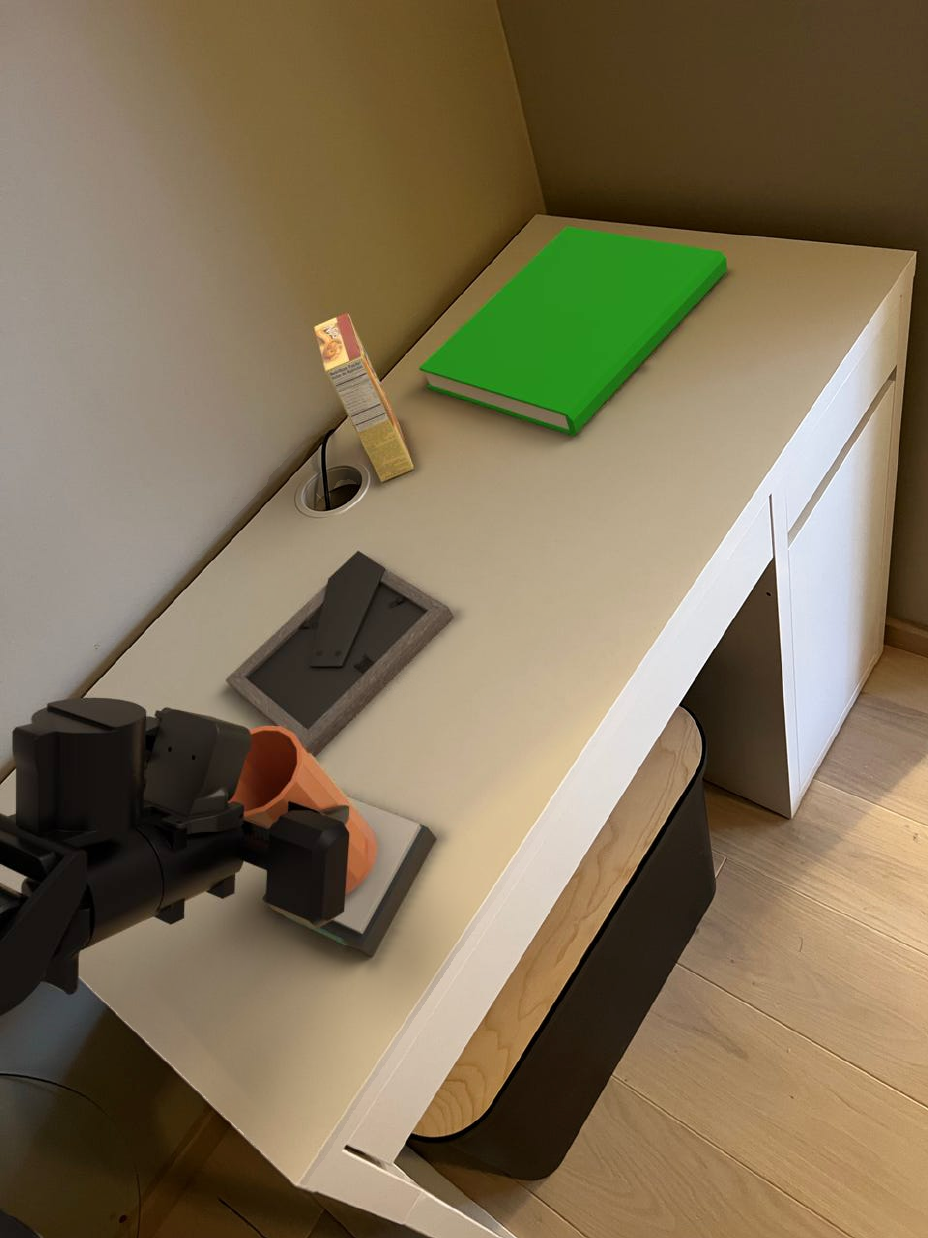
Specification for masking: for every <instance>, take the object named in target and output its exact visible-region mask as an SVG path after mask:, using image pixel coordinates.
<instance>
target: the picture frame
mask: <svg viewBox="0 0 928 1238" xmlns="http://www.w3.org/2000/svg"><path fill="white" fill-rule="evenodd" d="M453 618H454V616H453V614H452V612H451V610H450V607H449V606H447V605H446V604H444V603H443V602H441V601H439V600H438V599H436V598H434V597H433V596H431V595H430V594H428V593H426V592H425V591H423V590H421V589H419V588H418V587H417V586H414V585H412V584H411V583H410V582H408V581H406V580H404V579H403V578H401V577H400V576H399V575H397V574H395V573H393V572H391V571H390V570H388V569H386V567H385V566H383V565H382V564H380V563H378V562H377V561H375V560H374V559H373V558H371V557H369V556H368V555H367V554H366V555H365V553H363V552H361V551H360V550H357V551H356V552H355V553H354V554H353V555H352V556H350V557H349V558H348V559H347V561H345V562H344V563H343V564H342V565H341V566H340V567H339V568H338V569H337V570H336V571H334V572H333V574H331V576H329V577H328V578H327V581H326V585H324V586H323V587H322V588H321V589H320V590H319V591H318V592H317V593H316V594H315V595H314V596H313V597H311V599H310V600H308V601H307V602H306V604H304V605H303V606H302V607H301V608H299V610H297V612H295V614H293V616H291V617H290V619H288V620H287V621H286V622H285V623H284V624H283V625H282V626H281V627H279V629H278V630H277V631H276V632H275V633H273V634H272V635H271V636H270V637H269V638H268V639H267V640H266V641H265V642H264V643H263V644H262V645H261V646H259V647H258V648H257V649H256V650H255V651H254V652H253V653H252V654H251V655H250V656H249V657H248V658H247V659H246V660H245V661H243V663H241V664H240V665H239V666H238V667H237V668H236V669H235V670H233V672H232V673H231V674H229V676H228V677H226V678H225V681H226V683H227V684H229V686H230V687H231V688H232V689H233V690H234V691H235V692H236V693H238V695H240V696H241V697H242V698H243V699H244V700H246V701H247V702H248V703H249V704H250V705H251V706H253V708H255V709H256V710H257V711H258V712H259V713H261V715H262V716H264V718H266V719H268V721H270V723H272V724H273V725H274V726H281V727H283V728H285V729H287V730H289V731H291V732H293V733H294V734H295V735H296V736H297V737H298V738H299V740H300V741H301V742H302V743H303V744H304V746H305V747H306V748H307V749H308V750H309V752H310V753H311V754H312V755H313V756H314V758H315V757H317V756H318V754H319V753H320V752H321V751H322V750H324V748H325V747H327V745H329V743H330V742H331V741H332V740H333V739H334V738H336V736H338V734H339V733H340V732H341V731H342V730H343V729H344V728H345V727H346V726H348V724H349V723H350V722H351V721H352V720H353V719H354V718H356V716H357V715H358V714H359V713H360V712H361V711H362V710H363V709H364V708H365V707H366V706H367V705H368V704H369V703H370V702H371V701H372V700H373V699H374V698H375V697H376V696H377V695H378V694H379V693H380V692H381V691H382V690H383V689H384V688H385V687H386V686H387V685H388V684H389V683H390V682H391V681H392V680H393V679H394V678H395V677H396V676H397V675H398V674H399V673H400V672H401V671H402V670H403V669H404V668H405V667H406V666H407V665H408V664H409V663H410V662H411V660H413V659H414V657H416V656H417V654H419V652H421V650H422V649H424V648H425V646H426V645H427V644H429V643H430V642H431V641H432V640H433V638H435V636H437V634H439V633H440V632H441V631H442V629H443V628H444V627H445V626H446V625H448V623H450V621H452V620H453Z"/></svg>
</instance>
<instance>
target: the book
mask: <svg viewBox="0 0 928 1238" xmlns="http://www.w3.org/2000/svg"><path fill="white" fill-rule="evenodd" d="M727 271H728V263H727V257H726V256H725V255H724V254H723V252H722V251H721V250H715V249H710V248H703V247H698V246H697V247H696V246H690V245H685V244H679V243H672V242H666V241H660V240H654V239H647V238H642V237H636V236H635V237H634V236H630V235H629V236H628V235H622V234H617V233H610V232H605V231H599V230H592V229H585V228H580V227H573V226H567V225H566V226H565V228H563V229H562V230H561V231H560V232H559V233H558V234H557V235H556V236H555V237H553V239H552V240H550V242H549V243H548V244H546V246H544V247H543V248H542V249H541V250H540V251H539V252H538V253H537V254H535V256H534V257H533V258H532V259H530V261H529V262H528V263H527V264H526V265H525V266H524V267H523V268H522V269H520V270H519V271H518V272H517V273H516V274H515V275H514V276H513V277H512V278H511V279H510V280H509V281H507V283H506V284H505V285H504V286H503V287H501V288H500V290H498V291H497V293H495V294H494V295H493V296H492V297H491V298H490V299H489V300H488V301H487V302H486V303H485V304H484V305H483V306H482V307H480V308H479V310H478V311H476V313H474V314H473V315H472V316H471V317H470V318H469V319H468V320H467V321H466V322H465V323H464V324H463V325H461V327H460V328H459V329H458V330H456V331H455V333H454V334H452V336H451V337H449V338H448V339H447V340H446V341H445V342H444V343H443V344H442V345H441V346H440V347H439V348H438V349H436V350H435V352H434V353H432V355H430V356H429V357H428V358H427V359H426V360H425V361H424V362H423V363H422V364H421V365H420V366H419V367H418V369H419V371H421V372H423V373H425V377H426V378H427V380H428V384H427V385H426V388H427V389H428V390H431V391H435V392H437V393H441V394H444V395H447V396H450V397H453V398H456V399H459V400H461V401H464V402H468V403H471V404H473V405H476V406H480V407H483V408H487V409H489V410H493V411H495V412H498V413H501V414H504V415H508V416H511V417H513V418H517V419H519V420H522V421H525V422H528V423H532V424H535V425H538V426H541V427H544V428H546V429H550V430H553V431H556V432H559V433H561V434H565V435H568V436H571V437H575V436H576V434H577V433H578V432H579V431H580V430H581V429H582V428H583V427H584V426H585V425H586V424H587V423H588V422H589V420H590V419H591V418H592V417H593V416H594V415H595V414H596V413H597V412H598V411H599V410H600V409H601V407H602V406H603V405H604V404H605V403H606V402H607V401H608V400H609V399H610V398H611V397H612V396H613V395H614V394H615V392H616V391H617V390H618V389H620V387H621V386H622V385H623V384H624V383H625V382H626V381H627V379H628V378H629V377H631V375H632V374H633V373H634V372H635V371H636V370H637V369H638V368H639V367H640V366H641V364H643V362H644V361H645V360H646V359H647V358H648V357H649V356H650V355H651V354H652V352H653V351H655V350H656V349H657V347H658V346H659V345H660V344H661V343H662V342H663V341H664V340H665V339H666V338H667V337H668V335H670V334H671V332H672V331H673V330H674V329H675V328H676V327H677V325H679V324H680V323H681V321H682V320H683V319H684V318H685V317H686V316H687V315H688V314H689V313H690V312H691V310H693V308H694V307H695V306H696V305H697V304H698V303H699V302H700V301H701V300H702V299H703V298H704V297H705V296H706V295H707V293H709V291H710V290H711V289H713V287H714V286H715V285H717V283H718V282H719V281H720V280H721V278H722V277H724V275H725V274H726V272H727Z"/></svg>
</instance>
